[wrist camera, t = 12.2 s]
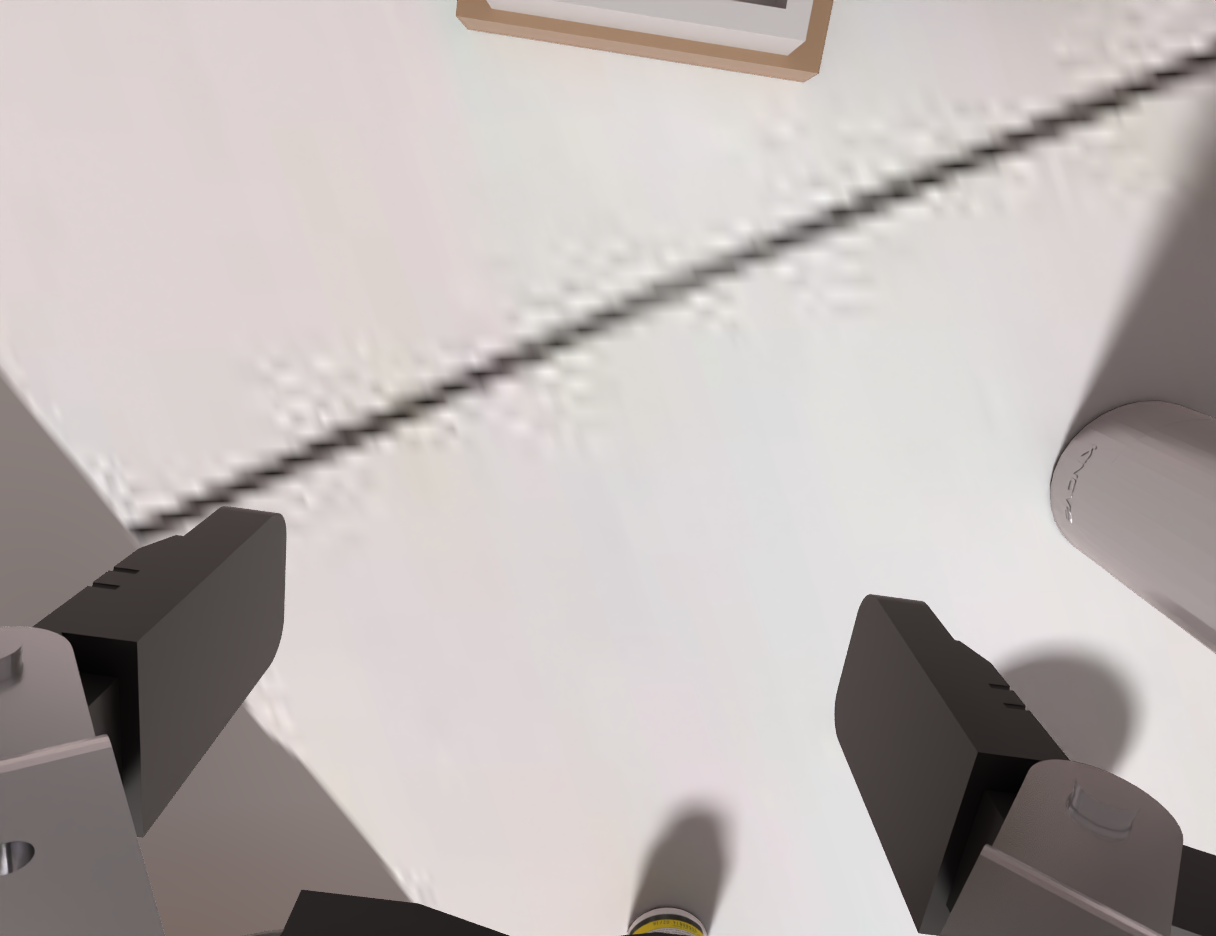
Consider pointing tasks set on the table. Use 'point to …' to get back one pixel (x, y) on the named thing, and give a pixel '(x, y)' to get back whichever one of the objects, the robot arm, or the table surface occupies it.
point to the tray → (672, 30)
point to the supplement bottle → (668, 923)
